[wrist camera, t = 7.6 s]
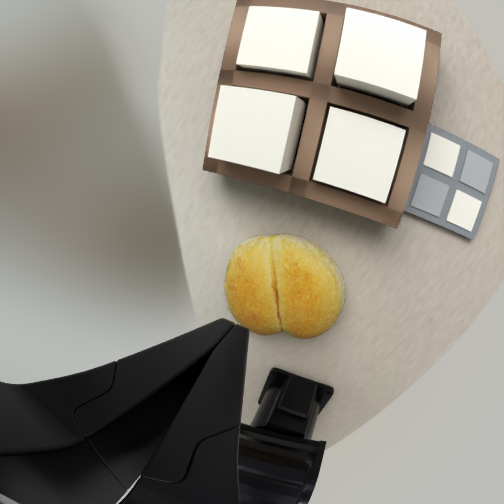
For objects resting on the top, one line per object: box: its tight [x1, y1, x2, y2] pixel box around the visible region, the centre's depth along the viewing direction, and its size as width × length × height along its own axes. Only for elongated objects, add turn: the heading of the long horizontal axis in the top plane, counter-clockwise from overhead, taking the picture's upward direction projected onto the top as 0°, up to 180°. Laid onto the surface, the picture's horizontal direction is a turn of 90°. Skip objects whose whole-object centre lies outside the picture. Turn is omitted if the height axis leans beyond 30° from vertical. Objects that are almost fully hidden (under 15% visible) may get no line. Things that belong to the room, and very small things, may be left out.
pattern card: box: [404, 123, 499, 240], centre depth 14 cm, size 6×6×1 cm
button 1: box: [313, 106, 406, 203], centre depth 15 cm, size 4×4×3 cm
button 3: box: [208, 85, 306, 174], centre depth 15 cm, size 4×4×3 cm
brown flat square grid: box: [203, 0, 442, 229], centre depth 15 cm, size 13×13×2 cm
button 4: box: [236, 6, 325, 82], centre depth 14 cm, size 4×4×3 cm
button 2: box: [334, 8, 426, 107], centre depth 11 cm, size 4×4×3 cm
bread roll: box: [224, 234, 345, 339], centre depth 20 cm, size 8×9×4 cm
